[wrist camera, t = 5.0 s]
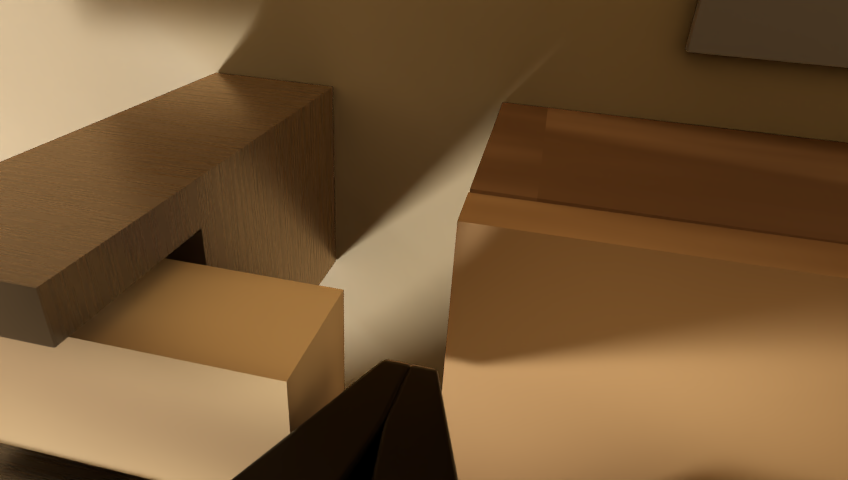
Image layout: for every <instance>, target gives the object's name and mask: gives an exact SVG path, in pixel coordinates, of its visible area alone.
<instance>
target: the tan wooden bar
mask: <svg viewBox="0 0 848 480" xmlns="http://www.w3.org/2000/svg"><path fill="white" fill-rule="evenodd" d="M343 391H344V290H342V289H336V288H330V287H325V286H319V285H313V284H308V283H302V282H296V281H291V280H285V279H279V278H274V277H268V276H262V275H257V274H251V273H245V272H240V271H234V270H228V269H223V268H217V267H211V266H206V265H200V264H194V263H189V262H183V261H177V260H172V259H166V258H164V259H163V260H162V261H160V262H159V263H158V264H157V265H156V266H154V267H153V268H152V269H151V270H149V271H148V272H147V273H146V274H145V275H143V276H142V277H141V278H140V279H138V280H137V281H136V282H135V283H134V284H132V285H131V286H130V287H129V288H127V289H126V290H125V291H124V292H123V293H121V294H120V295H119V296H118V297H116V298H115V299H114V300H113V301H112V302H110V303H109V304H108V305H107V306H105V307H104V308H103V309H102V310H101V311H99V312H98V313H97V314H96V315H94V316H93V317H92V318H91V319H90V320H88V321H87V322H86V323H85V324H83V325H82V326H81V327H80V328H79V329H77V330H76V331H75V332H74V333H73V334H71V335H70V336H69V337H68V338H66V339H65V340H64V341H63V342H62V343H60V344H59V345H58V346H57V347H55V348H52V347H47V346H42V345H38V344H33V343H28V342H23V341H19V340H14V339H9V338H4V337H0V443H3V444H7V445H11V446H15V447H19V448H24V449H28V450H32V451H36V452H40V453H44V454H48V455H52V456H56V457H60V458H64V459H69V460H73V461H77V462H81V463H85V464H89V465H93V466H97V467H101V468H105V469H109V470H114V471H118V472H122V473H126V474H130V475H134V476H138V477H142V478H146V479H150V480H231V479H233V478H234V477H235V476H236V475H238V474H239V473H240V472H241V471H243V470H244V469H245V468H247V467H248V466H249V465H250V464H252V463H253V462H254V461H255V460H257V459H258V458H259V457H261V456H262V455H263V454H264V453H266V452H267V451H268V450H269V449H271V448H272V447H273V446H275V445H276V444H277V443H278V442H280V441H281V440H282V439H283V438H285V437H286V436H287V435H288V434H290V433H291V432H292V431H294V430H295V429H296V428H297V427H299V426H300V425H301V424H302V423H304V422H305V421H306V420H308V419H309V418H310V417H311V416H313V415H314V414H315V413H316V412H318V411H319V410H320V409H321V408H323V407H324V406H325V405H327V404H328V403H329V402H330V401H332V400H333V399H334V398H335V397H337V396H338V395H339V394H341V393H342V392H343Z"/></svg>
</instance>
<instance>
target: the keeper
mask: <svg viewBox="0 0 848 480" xmlns="http://www.w3.org/2000/svg"><path fill="white" fill-rule="evenodd" d="M164 258H166V259H172V260H177V261H183V262H189V263H194V264H200V265H206V266H211V267H217V268H223V269H228V270H234V271H240V272H245V273H251V274H257V275H262V276H268V277H274V278H279V279H285V280H291V281H296V282H302V283H308V284H313V285H319V284H320V283H321V281H322V280H323V279H324V277H325V276H326V274H327V273H328V271H329V270H330V269H331V267H332V266H333V264H334V263H335V261H336V250H335V187H334V123H333V87H332V86H324V85H315V84H307V83H298V82H290V81H281V80H273V79H265V78H256V77H248V76H239V75H231V74H223V73H214V74H212V75H209V76H207V77H204V78H202V79H199V80H197V81H195V82H192V83H190V84H187V85H185V86H183V87H180V88H178V89H175V90H173V91H170V92H168V93H166V94H163V95H161V96H158V97H156V98H154V99H151V100H149V101H146V102H144V103H141V104H139V105H137V106H134V107H132V108H129V109H127V110H125V111H122V112H120V113H117V114H115V115H112V116H110V117H108V118H105V119H103V120H100V121H98V122H96V123H93V124H91V125H88V126H86V127H83V128H81V129H79V130H76V131H74V132H71V133H69V134H67V135H64V136H62V137H59V138H57V139H54V140H52V141H50V142H47V143H45V144H42V145H40V146H38V147H35V148H33V149H30V150H28V151H26V152H23V153H21V154H18V155H16V156H13V157H11V158H9V159H6V160H4V161H1V162H0V337H4V338H9V339H14V340H19V341H23V342H28V343H33V344H38V345H42V346H47V347H52V348H55V347H57V346H58V345H59V344H60V343H62V342H63V341H64V340H65V339H66V338H68V337H69V336H70V335H71V334H73V333H74V332H75V331H76V330H77V329H79V328H80V327H81V326H82V325H83V324H85V323H86V322H87V321H88V320H90V319H91V318H92V317H93V316H94V315H96V314H97V313H98V312H99V311H101V310H102V309H103V308H104V307H105V306H107V305H108V304H109V303H110V302H112V301H113V300H114V299H115V298H116V297H118V296H119V295H120V294H121V293H123V292H124V291H125V290H126V289H127V288H129V287H130V286H131V285H132V284H134V283H135V282H136V281H137V280H138V279H140V278H141V277H142V276H143V275H145V274H146V273H147V272H148V271H149V270H151V269H152V268H153V267H154V266H156V265H157V264H158V263H159V262H160V261H162V260H163V259H164ZM0 480H150V479H146V478H142V477H138V476H134V475H130V474H126V473H122V472H118V471H114V470H109V469H105V468H101V467H97V466H93V465H89V464H85V463H81V462H77V461H73V460H69V459H64V458H60V457H56V456H52V455H48V454H44V453H40V452H36V451H32V450H28V449H24V448H19V447H15V446H11V445H7V444H3V443H0Z"/></svg>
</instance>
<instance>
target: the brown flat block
mask: <svg viewBox="0 0 848 480" xmlns="http://www.w3.org/2000/svg"><path fill="white" fill-rule="evenodd" d="M470 193H477V194H485V195H492V196H499V197H506V198H514V199H521V200H528V201H535V202H542V203H550V204H557V205H564V206H571V207H579V208H586V209H593V210H600V211H608V212H615V213H622V214H629V215H637V216H644V217H651V218H658V219H666V220H673V221H680V222H687V223H695V224H702V225H709V226H716V227H723V228H731V229H738V230H745V231H752V232H760V233H767V234H774V235H781V236H789V237H796V238H803V239H810V240H818V241H825V242H832V243H839V244H847V245H848V143H844V142H836V141H827V140H819V139H810V138H802V137H793V136H785V135H776V134H768V133H759V132H751V131H742V130H734V129H725V128H717V127H708V126H700V125H691V124H683V123H674V122H666V121H657V120H649V119H640V118H632V117H623V116H615V115H606V114H598V113H589V112H581V111H572V110H564V109H555V108H547V107H538V106H530V105H521V104H513V103H504V102H503V103H502V106H501V109H500V111H499V114H498V116H497V119H496V122H495V124H494V127H493V130H492V132H491V135H490V138H489V140H488V143H487V146H486V148H485V151H484V154H483V156H482V159H481V161H480V164H479V167H478V169H477V172H476V175H475V177H474V180H473V183H472V185H471V188H470Z"/></svg>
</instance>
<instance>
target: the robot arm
mask: <svg viewBox="0 0 848 480" xmlns="http://www.w3.org/2000/svg"><path fill="white" fill-rule="evenodd" d="M231 480H458V475H457V470H456V465H455V460H454V454H453V449H452V444H451V439H450V433H449V428H448V423H447V417H446V412H445V407H444V402H443V396H442V391H441V386H440V381H439V375H438V372H437V370H436V369H434V368H430V367H425V366H419V365H411V366H410V365H409V364H408V363H404V362H399V361H394V360H389V359H386V360H383V361H381V362H380V363H379V364H377V365H376V366H375V367H374V368H372V369H371V370H370V371H368V372H367V373H366V374H365V375H363V376H362V377H361V378H360V379H358V380H357V381H356V382H355V383H353V384H352V385H351V386H349V387H348V388H347V389H346V390H344V391H343V392H342V393H341V394H339V395H338V396H337V397H335V398H334V399H333V400H332V401H330V402H329V403H328V404H327V405H325V406H324V407H323V408H321V409H320V410H319V411H318V412H316V413H315V414H314V415H313V416H311V417H310V418H309V419H308V420H306V421H305V422H304V423H302V424H301V425H300V426H299V427H297V428H296V429H295V430H294V431H292V432H291V433H290V434H288V435H287V436H286V437H285V438H283V439H282V440H281V441H280V442H278V443H277V444H276V445H275V446H273V447H272V448H271V449H269V450H268V451H267V452H266V453H264V454H263V455H262V456H261V457H259V458H258V459H257V460H255V461H254V462H253V463H252V464H250V465H249V466H248V467H247V468H245V469H244V470H243V471H241V472H240V473H239V474H238V475H236V476H235V477H234V478H233V479H231Z"/></svg>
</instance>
